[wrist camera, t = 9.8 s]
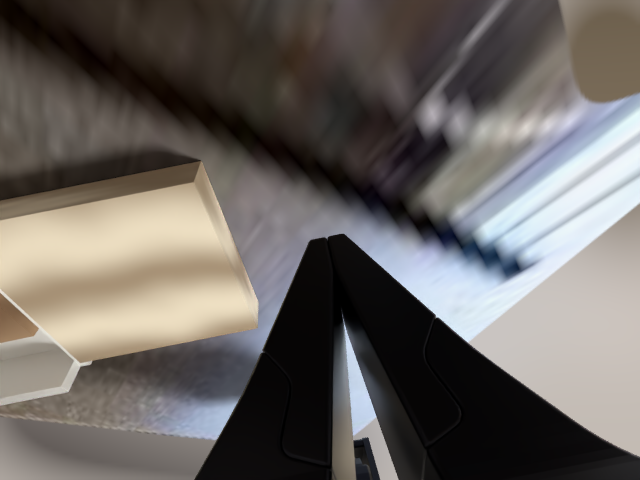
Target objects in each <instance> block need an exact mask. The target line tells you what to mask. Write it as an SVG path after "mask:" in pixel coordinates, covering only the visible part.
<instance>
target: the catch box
mask: <svg viewBox="0 0 640 480" xmlns="http://www.w3.org/2000/svg"><path fill="white" fill-rule="evenodd" d="M0 293H1V294H2V295H3V296H4V297H5V298H6V299H8V300H9V301H10V302H11V303H12V304H13V305H14V306H15V307H16V308H17V309H18V310H20V311H21V312H22V313H23V314H24V315H25V316H26V317H27V318H28V319H29V320H30V321H32V322H33V323H34V324H35V325H36V326H37V327H38V328H39V329H38V331H37V332H36V334H35V335H34V336H32V337H27V338H23V339H18V340H13V341H8V342H3V343H0V405H5V404H10V403H15V402H20V401H26V400H31V399H36V398H41V397H46V396H51V395H56V394H61V393H66V392H69V390H70V388H71V385H72V383H73V381H74V379H75V377H76V375H77V373H78V371H79V369H80V367H81V366H86V365H91V363H92V361H88V362H83V363H80V362H79V361H77V360H76V359H75V358H74V357H73V356H72V355H71V354H70V353H69V352H68V351H67V350H66V349H65V348H63V347H62V346H61V345H60V344H59V343H58V342H57V341H56V340H55V339H54V338H53V337H52V336H51V335H49V334H48V333H47V332H46V331H45V330H44V329H43V328H42V327H41V326H40V325H39V324H38V323H36V322H35V321H34V320H33V319H32V318H31V317H30V316H29V315H28V314H27V313H26V312H25V311H24V310H22V309H21V308H20V307H19V306H18V305H17V304H16V303H15V302H14V301H13V300H12V299H11V298H9V297H8V296H7V295H6V294H5V293H4V292H3V291H2V290H1V289H0Z"/></svg>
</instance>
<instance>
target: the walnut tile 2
mask: <svg viewBox="0 0 640 480" xmlns="http://www.w3.org/2000/svg"><path fill="white" fill-rule="evenodd" d="M38 329H39V328H38V327H37V326H36V325H35V324H34V323H33V322H32V321H30V320H29V319H28V318H27V317H26V316H25V315H24V314H23V313H22V312H21V311H20V310H18V309H17V308H16V307H15V306H14V305H13V304H12V303H11V302H10V301H9V300H8V299H6V298H5V297H4V296H3V295H2V294H1V293H0V343H3V342H8V341H13V340H18V339H23V338H27V337H32V336H34V335H35V334H36V332H37V331H38Z"/></svg>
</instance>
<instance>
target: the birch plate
mask: <svg viewBox="0 0 640 480" xmlns="http://www.w3.org/2000/svg"><path fill="white" fill-rule="evenodd" d="M0 289H1V290H2V291H3V292H4V293H5V294H6V295H7V296H8V297H9V298H11V299H12V300H13V301H14V302H15V303H16V304H17V305H18V306H19V307H20V308H21V309H22V310H24V311H25V312H26V313H27V314H28V315H29V316H30V317H31V318H32V319H33V320H34V321H35V322H36V323H38V324H39V325H40V326H41V327H42V328H43V329H44V330H45V331H46V332H47V333H48V334H49V335H51V336H52V337H53V338H54V339H55V340H56V341H57V342H58V343H59V344H60V345H61V346H62V347H63V348H65V349H66V350H67V351H68V352H69V353H70V354H71V355H72V356H73V357H74V358H75V359H76V360H77V361H79V362H80V363H83V362H88V361H94V360H99V359H104V358H109V357H114V356H119V355H124V354H129V353H134V352H139V351H144V350H149V349H155V348H160V347H165V346H170V345H175V344H180V343H185V342H190V341H195V340H200V339H205V338H210V337H215V336H221V335H226V334H231V333H236V332H241V331H246V330H251V329H256V328H258V300H257V298H256V295H255V293H254V290H253V288H252V285H251V283H250V280H249V278H248V275H247V273H246V270H245V268H244V265H243V263H242V260H241V258H240V255H239V253H238V250H237V248H236V246H235V243H234V241H233V238H232V236H231V233H230V231H229V228H228V226H227V223H226V221H225V218H224V216H223V213H222V211H221V208H220V206H219V203H218V201H217V198H216V196H215V193H214V191H213V189H212V186H211V184H210V181H209V179H208V176H207V174H206V171H205V169H204V166H203V164H202V161H198V162H193V163H188V164H183V165H178V166H173V167H168V168H163V169H158V170H153V171H148V172H143V173H138V174H133V175H128V176H123V177H118V178H112V179H107V180H102V181H97V182H92V183H87V184H82V185H77V186H72V187H67V188H62V189H57V190H52V191H47V192H42V193H37V194H32V195H26V196H21V197H16V198H11V199H6V200H1V201H0Z"/></svg>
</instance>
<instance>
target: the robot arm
mask: <svg viewBox="0 0 640 480" xmlns="http://www.w3.org/2000/svg"><path fill="white" fill-rule="evenodd" d="M341 310H342V311H341ZM342 315H343V316H342ZM343 319H344V322H343ZM344 323H345V327H346V330H347V333H348V336H349V339H350V342H351V344H352V347H353V350H354V353H355V356H356V359H357V362H358V364H359V367H360V370H361V373H362V376H363V379H364V382H365V384H366V387H367V390H368V393H369V396H370V399H371V402H372V404H373V407H374V410H375V413H376V416H377V419H378V422H379V424H380V427H381V430H382V433H383V436H384V439H385V441H386V444H387V447H388V450H389V453H390V456H391V459H392V461H393V464H394V467H395V470H396V473H397V476H398V479H399V480H640V457H639V456H637V455H634V454H632V453H630V452H628V451H626V450H623V449H621V448H619V447H617V446H615V445H613V444H612V443H609V442H608V441H606V440H604V439H602V438H600V437H599V436H597V435H596V434H594V433H592V432H591V431H589V430H587V429H586V428H584V427H583V426H581V425H580V424H578V423H577V422H575V421H574V420H573V419H571V418H570V417H568V416H567V415H566V414H564V413H563V412H561V411H560V410H559V409H557V408H556V407H555V406H553V405H552V404H550V403H549V402H547V401H546V400H545V399H543V398H542V397H540V396H539V395H538V394H536V393H535V392H533V391H532V390H531V389H529V388H528V387H526V386H525V385H524V384H522V383H521V382H520V381H518V380H517V379H515V378H514V377H513V376H511V375H510V374H508V373H507V372H506V371H504V370H503V369H501V368H500V367H499V366H497V365H496V364H495V363H493V362H492V361H491V360H489V359H488V358H487V357H485V356H484V355H483V354H481V353H480V352H479V351H477V350H476V349H475V348H473V347H472V346H471V345H470V344H469V343H467V342H466V341H465V340H464V339H463V338H462V337H460V336H459V335H458V334H457V333H456V332H454V331H453V330H452V329H451V328H450V327H449V326H448V325H446V324H445V323H444V322H443V321H442V320H441V319H440V318H436V315H435V314H434V313H433V312H432V311H430V310H429V309H428V308H427V307H426V306H425V305H424V304H423V303H421V302H420V301H419V300H418V299H417V298H416V297H415V296H414V295H412V294H411V293H410V292H409V291H408V290H407V289H406V288H405V287H403V286H402V285H401V284H400V283H399V282H398V281H397V280H396V279H394V278H393V277H392V276H391V275H390V274H389V273H388V272H387V271H385V270H384V269H383V268H382V267H381V266H380V265H379V264H378V263H376V262H375V261H374V260H373V259H372V258H371V257H370V256H368V255H367V254H366V253H365V252H364V251H363V250H362V249H361V248H359V247H358V246H357V245H356V244H355V243H354V242H353V241H352V240H350V239H349V238H348V237H347V236H346V235H345V234H338V235H333V236H329V237H328V239H326V238H325V237H323V238H318V239H313V240H310V241H309V243H308V245H307V248H306V250H305V252H304V255H303V257H302V259H301V262H300V264H299V266H298V269H297V271H296V273H295V276H294V278H293V280H292V282H291V285H290V287H289V289H288V292H287V294H286V296H285V299H284V301H283V303H282V306H281V308H280V310H279V313H278V315H277V317H276V320H275V322H274V324H273V326H272V329H271V331H270V333H269V336H268V338H267V340H266V343H265V345H264V347H263V350H262V351H263V352H262V353H261V354H260V356H259V358H258V361H257V363H256V365H255V368H254V370H253V372H252V374H251V376H250V379H249V381H248V383H247V385H246V387H245V389H244V391H243V394H242V395H241V397H240V399H239V401H238V403H237V405H236V407H235V408H234V410H233V412H232V414H231V416H230V418H229V419H228V421H227V423H226V425H225V427H224V428H223V430H222V432H221V434H220V435H219V437H218V439H217V441H216V443H215V444H214V446H213V448H212V450H211V451H210V453H209V455H208V456H207V458H206V460H205V462H204V464H203V465H202V467H201V469H200V470H199V472H198V474H197V476H196V478H195V479H194V480H380V478H379V474H378V470H377V467H376V463H375V460H374V456H373V453H372V449H371V445H370V442H369V438H368V437H367V438H362V439H360V440H353V432H352V419H351V406H350V393H349V380H348V367H347V354H346V341H345V329H344Z"/></svg>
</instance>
